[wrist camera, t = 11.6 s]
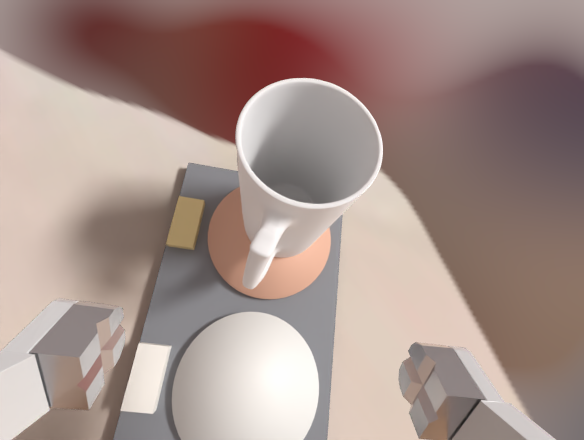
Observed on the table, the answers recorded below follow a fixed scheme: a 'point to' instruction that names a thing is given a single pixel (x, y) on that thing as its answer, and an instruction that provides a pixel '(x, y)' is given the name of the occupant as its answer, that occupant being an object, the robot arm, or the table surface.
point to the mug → (300, 166)
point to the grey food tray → (232, 330)
